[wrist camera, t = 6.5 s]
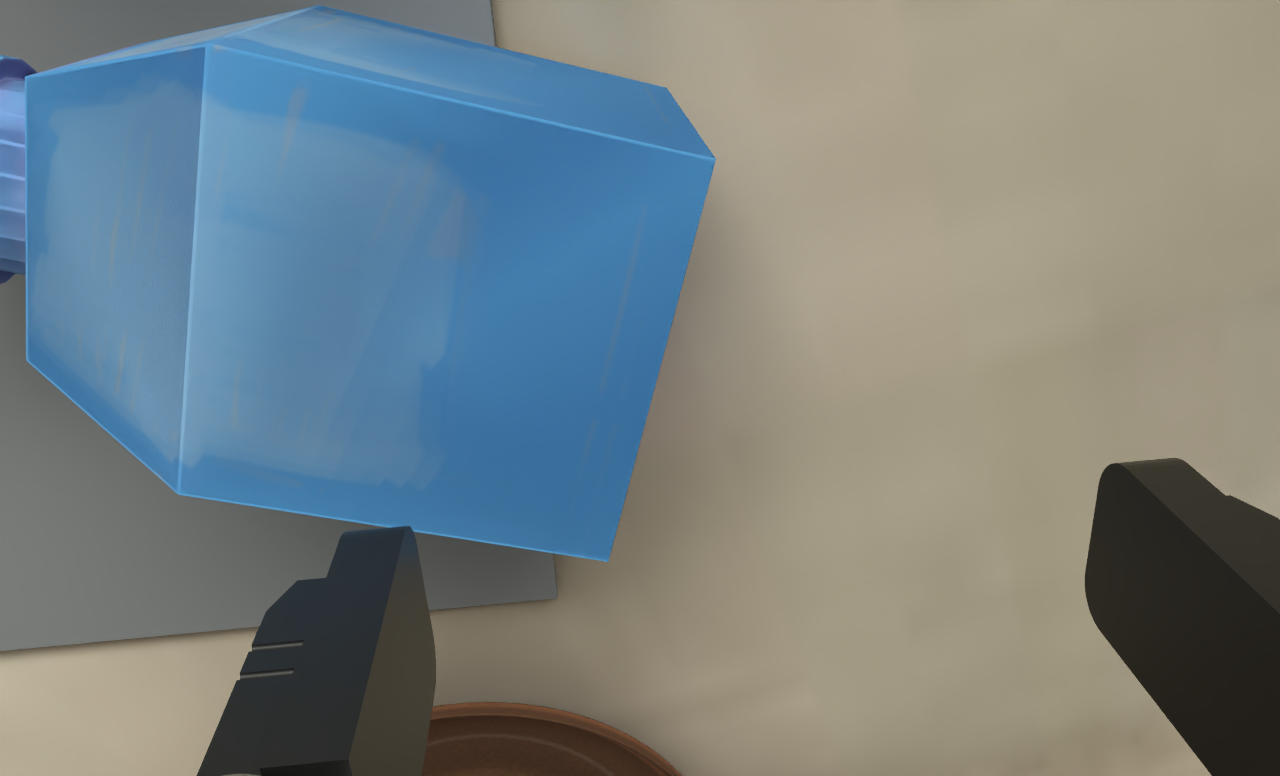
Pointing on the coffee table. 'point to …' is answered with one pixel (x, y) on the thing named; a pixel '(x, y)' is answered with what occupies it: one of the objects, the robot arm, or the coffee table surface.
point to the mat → (120, 483)
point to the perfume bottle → (356, 269)
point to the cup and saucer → (531, 744)
